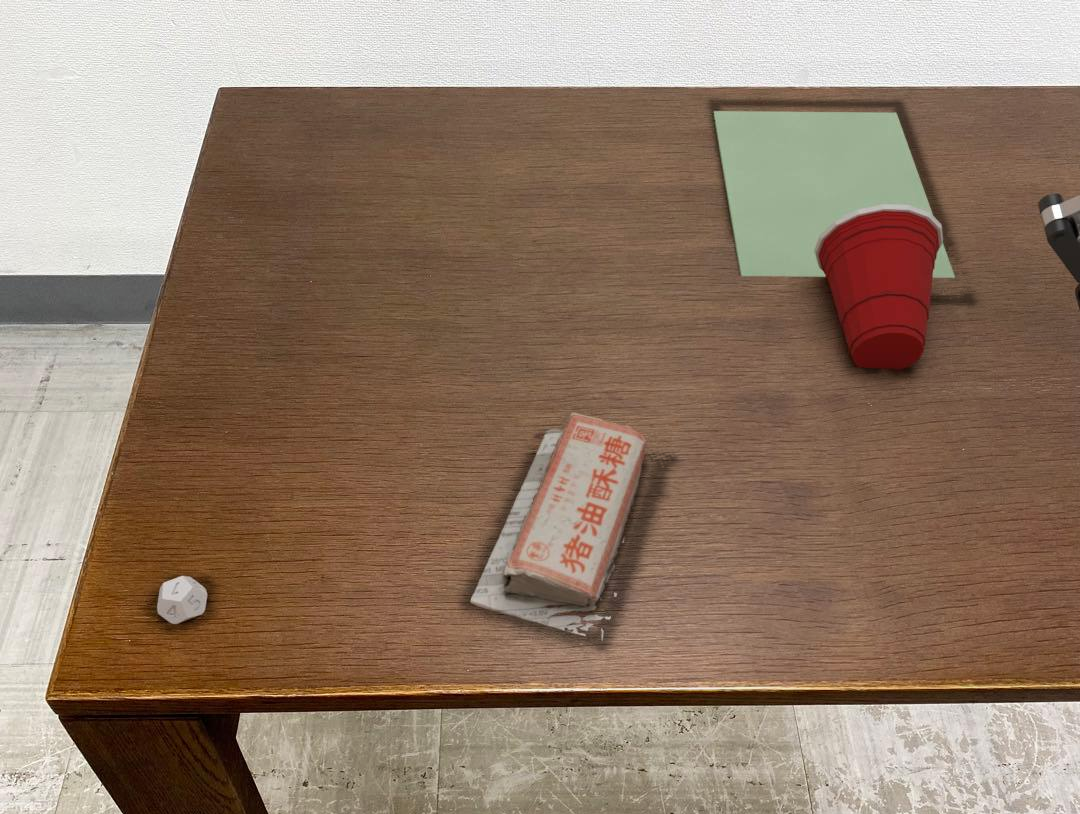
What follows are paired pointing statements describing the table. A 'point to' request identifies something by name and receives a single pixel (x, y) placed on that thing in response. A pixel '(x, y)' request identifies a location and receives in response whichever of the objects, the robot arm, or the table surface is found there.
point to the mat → (810, 181)
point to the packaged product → (565, 524)
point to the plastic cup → (882, 281)
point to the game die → (181, 599)
